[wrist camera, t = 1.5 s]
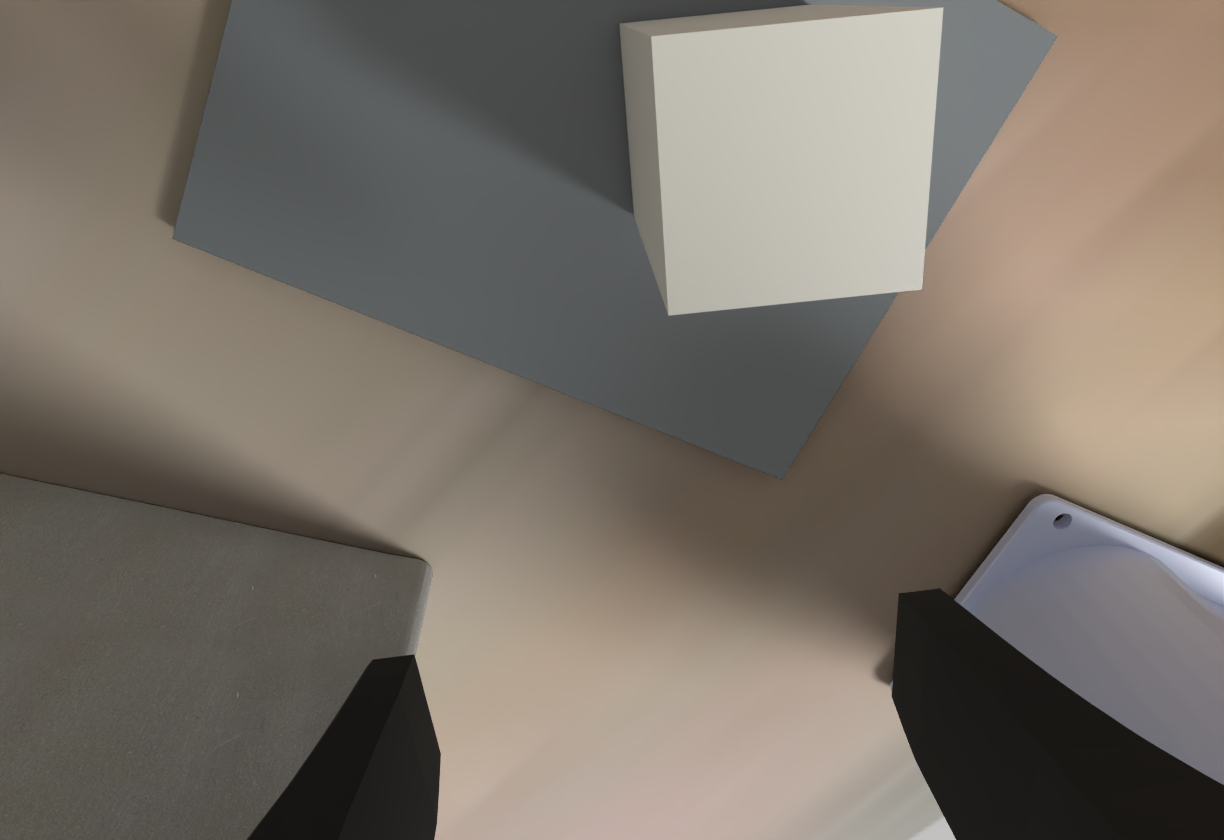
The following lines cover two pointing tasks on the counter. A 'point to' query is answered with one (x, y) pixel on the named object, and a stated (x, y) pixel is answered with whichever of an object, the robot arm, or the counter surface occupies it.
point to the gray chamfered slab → (174, 661)
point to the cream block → (782, 151)
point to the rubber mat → (533, 197)
